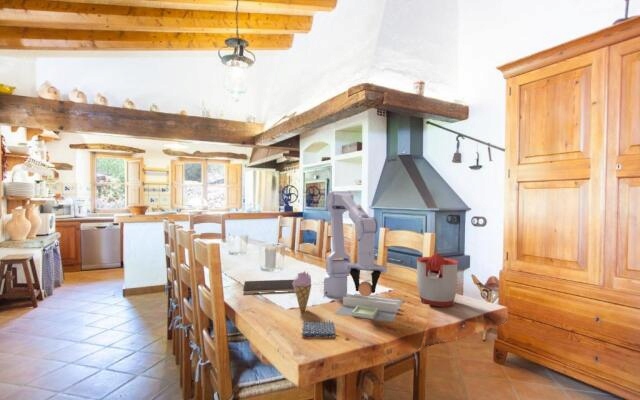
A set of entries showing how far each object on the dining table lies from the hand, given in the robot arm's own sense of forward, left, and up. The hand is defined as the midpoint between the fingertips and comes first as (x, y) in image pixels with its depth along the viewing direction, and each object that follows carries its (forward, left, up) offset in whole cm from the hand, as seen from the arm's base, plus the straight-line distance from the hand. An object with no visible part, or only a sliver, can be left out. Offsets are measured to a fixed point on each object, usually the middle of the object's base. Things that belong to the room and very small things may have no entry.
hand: (365, 291), depth 112 cm
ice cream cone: (-22, -5, -9) cm, 24 cm away
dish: (0, 0, -8) cm, 8 cm away
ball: (0, 0, +1) cm, 1 cm away
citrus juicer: (+22, +26, -9) cm, 35 cm away
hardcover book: (-49, +18, -10) cm, 53 cm away
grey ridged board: (0, +9, -9) cm, 13 cm away
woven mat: (-10, -18, -10) cm, 23 cm away
